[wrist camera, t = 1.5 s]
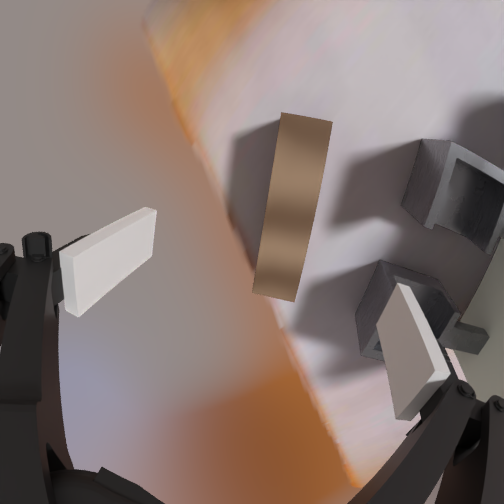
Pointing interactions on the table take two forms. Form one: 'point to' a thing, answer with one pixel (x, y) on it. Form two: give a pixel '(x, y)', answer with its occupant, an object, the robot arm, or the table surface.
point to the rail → (291, 204)
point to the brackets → (429, 213)
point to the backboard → (497, 327)
